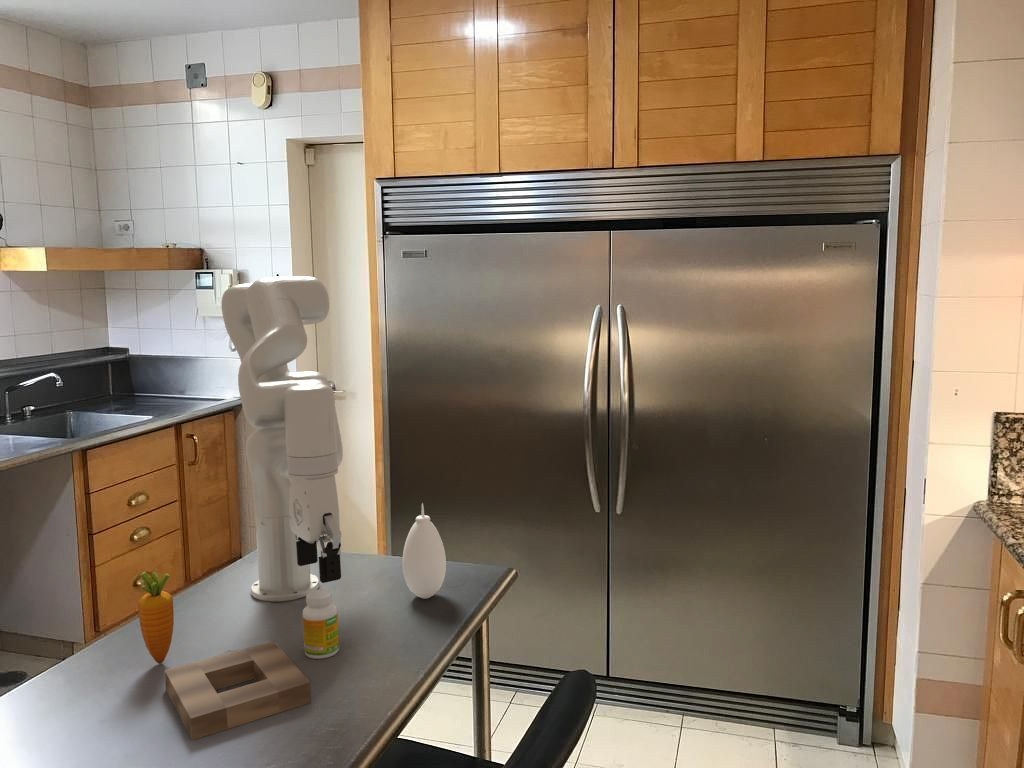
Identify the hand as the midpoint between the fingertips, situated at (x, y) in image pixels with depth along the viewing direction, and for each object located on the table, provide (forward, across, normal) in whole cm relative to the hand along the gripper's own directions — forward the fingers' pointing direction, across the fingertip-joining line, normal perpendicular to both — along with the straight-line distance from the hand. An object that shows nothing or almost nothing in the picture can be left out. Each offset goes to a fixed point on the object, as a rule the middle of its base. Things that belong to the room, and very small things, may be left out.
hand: (318, 572), depth 127 cm
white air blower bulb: (+13, -11, +24) cm, 30 cm away
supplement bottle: (+14, -1, 0) cm, 14 cm away
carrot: (+13, -12, -22) cm, 28 cm away
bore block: (+14, +5, -15) cm, 21 cm away
